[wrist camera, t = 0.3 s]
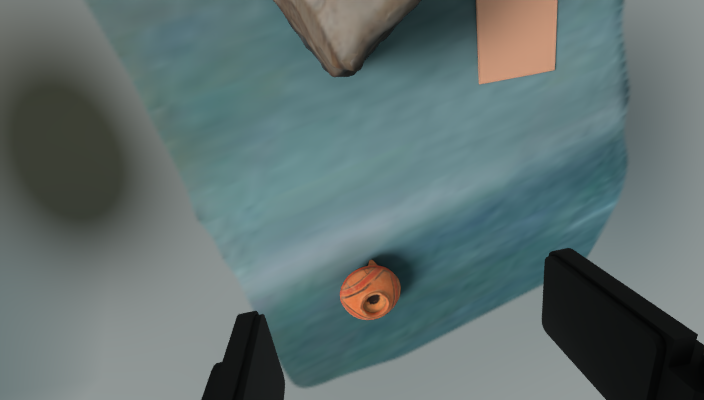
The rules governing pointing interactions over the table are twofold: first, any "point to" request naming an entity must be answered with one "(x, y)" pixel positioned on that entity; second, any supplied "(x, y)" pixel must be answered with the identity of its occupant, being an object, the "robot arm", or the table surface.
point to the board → (515, 38)
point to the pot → (370, 291)
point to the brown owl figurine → (344, 28)
